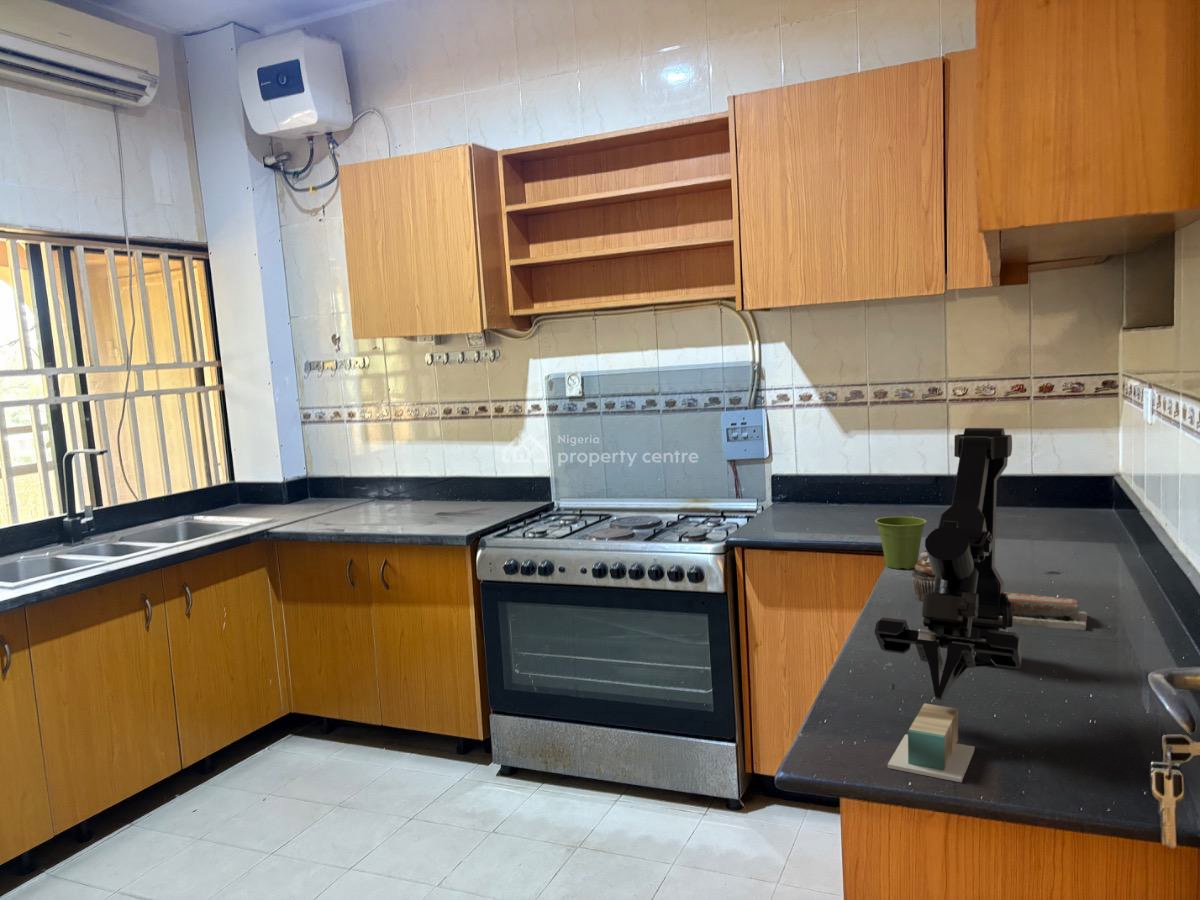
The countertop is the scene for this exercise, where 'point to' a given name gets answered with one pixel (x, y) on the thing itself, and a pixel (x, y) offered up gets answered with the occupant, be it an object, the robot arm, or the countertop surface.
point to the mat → (951, 772)
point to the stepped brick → (1047, 611)
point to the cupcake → (923, 577)
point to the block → (933, 736)
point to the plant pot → (901, 540)
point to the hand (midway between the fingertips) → (938, 698)
